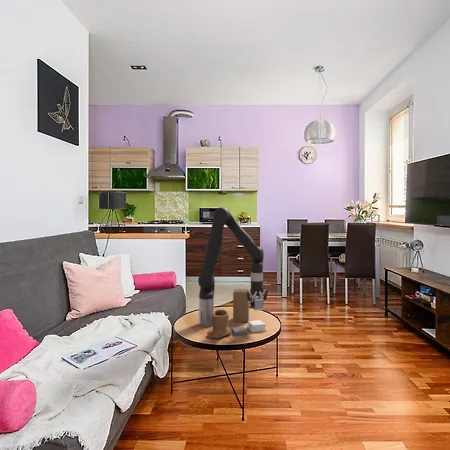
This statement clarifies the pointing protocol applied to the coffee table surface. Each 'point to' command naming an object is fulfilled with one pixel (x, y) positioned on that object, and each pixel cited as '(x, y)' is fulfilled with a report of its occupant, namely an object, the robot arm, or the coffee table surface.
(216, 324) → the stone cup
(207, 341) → the coffee table surface
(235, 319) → the block
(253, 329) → the stand
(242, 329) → the stand
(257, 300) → the housing
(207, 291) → the robot arm
